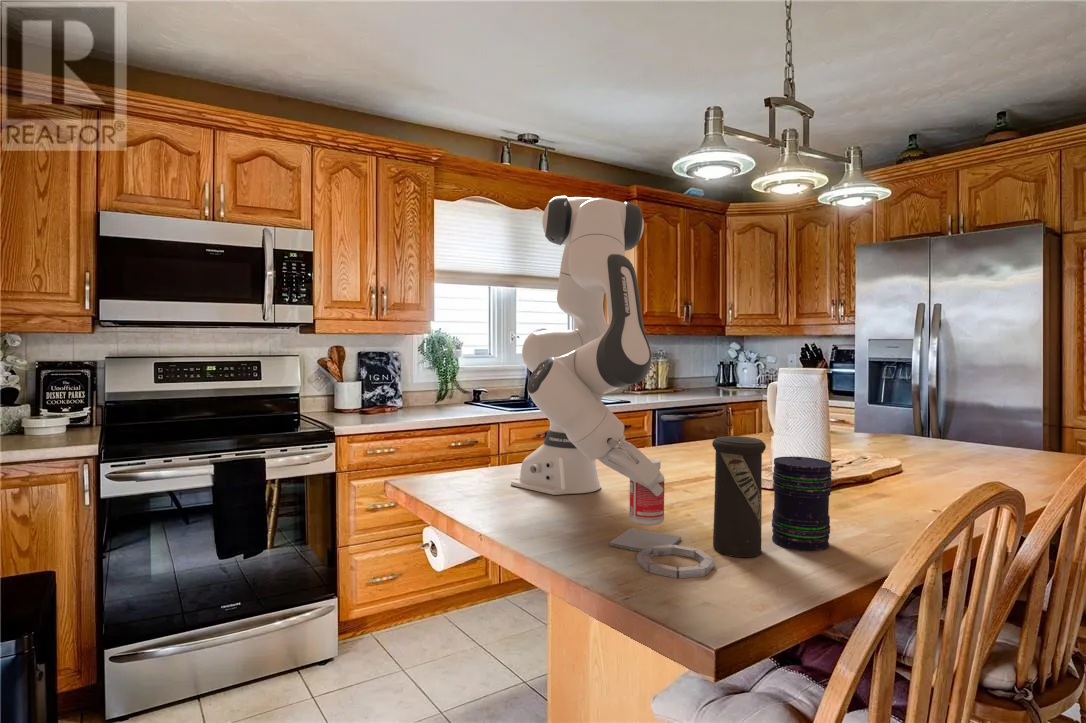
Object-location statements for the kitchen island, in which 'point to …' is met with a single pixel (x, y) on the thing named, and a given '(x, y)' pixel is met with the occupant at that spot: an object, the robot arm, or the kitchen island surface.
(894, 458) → the kitchen island surface
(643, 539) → the coaster
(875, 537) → the kitchen island surface
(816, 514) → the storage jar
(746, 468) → the container
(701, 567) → the collar
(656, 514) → the pill bottle
